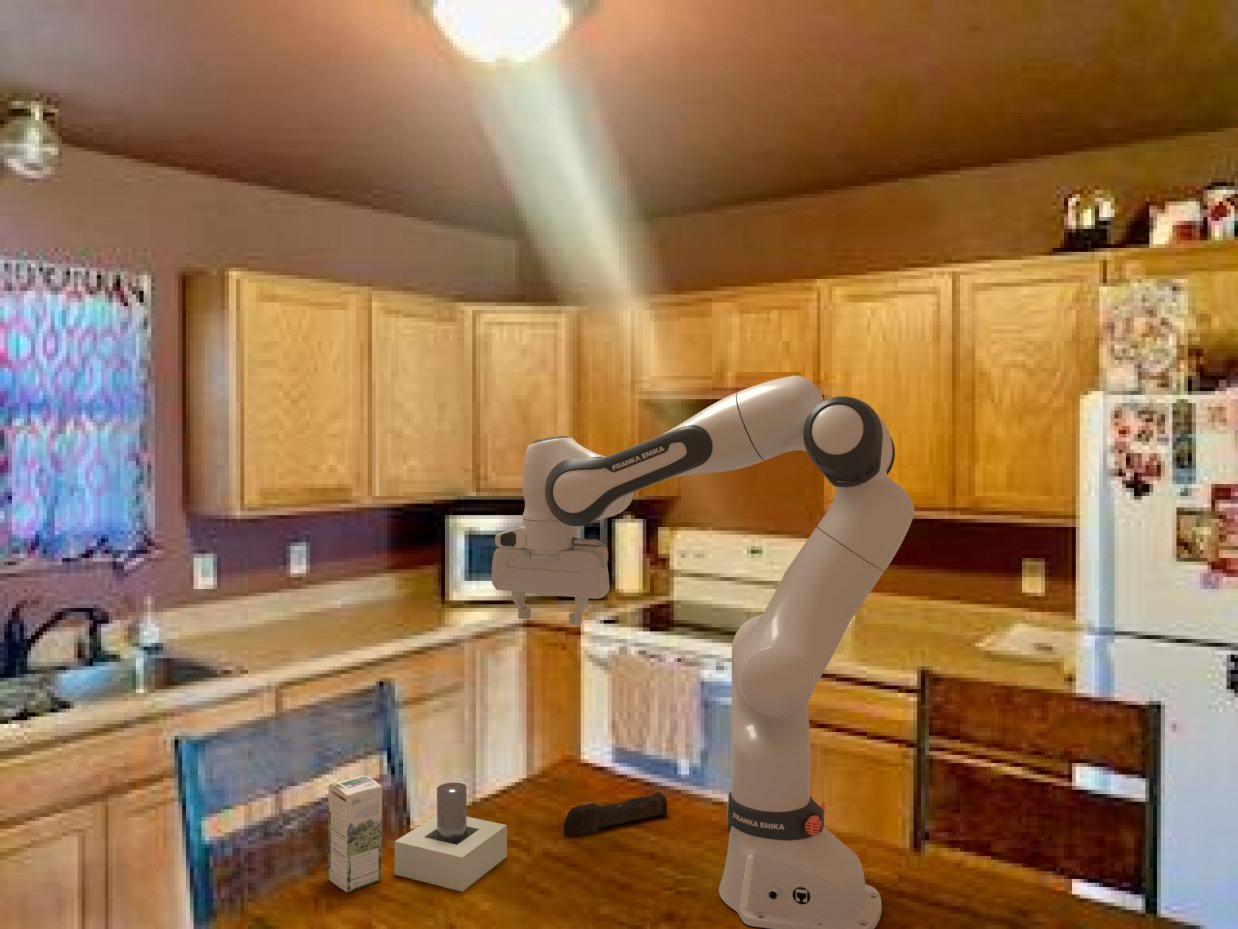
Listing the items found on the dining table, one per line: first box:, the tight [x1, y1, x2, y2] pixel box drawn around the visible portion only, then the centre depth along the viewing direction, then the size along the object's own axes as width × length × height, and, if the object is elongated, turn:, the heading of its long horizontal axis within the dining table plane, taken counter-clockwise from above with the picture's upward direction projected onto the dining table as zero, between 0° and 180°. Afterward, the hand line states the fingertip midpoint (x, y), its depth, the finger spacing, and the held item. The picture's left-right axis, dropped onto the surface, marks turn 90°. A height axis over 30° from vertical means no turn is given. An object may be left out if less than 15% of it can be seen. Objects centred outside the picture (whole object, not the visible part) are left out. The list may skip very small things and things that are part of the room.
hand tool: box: [562, 791, 668, 837], centre depth 155 cm, size 19×4×5 cm, turn 117°
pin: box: [436, 782, 468, 845], centre depth 140 cm, size 4×4×12 cm
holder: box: [394, 814, 508, 893], centre depth 140 cm, size 12×12×5 cm
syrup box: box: [327, 774, 383, 894], centre depth 135 cm, size 6×6×14 cm
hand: (549, 621), depth 150 cm, fingers open, 8 cm apart
